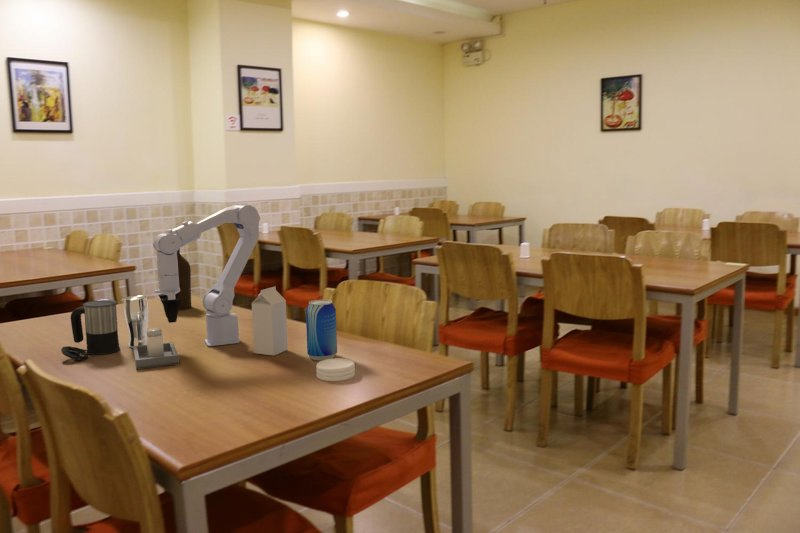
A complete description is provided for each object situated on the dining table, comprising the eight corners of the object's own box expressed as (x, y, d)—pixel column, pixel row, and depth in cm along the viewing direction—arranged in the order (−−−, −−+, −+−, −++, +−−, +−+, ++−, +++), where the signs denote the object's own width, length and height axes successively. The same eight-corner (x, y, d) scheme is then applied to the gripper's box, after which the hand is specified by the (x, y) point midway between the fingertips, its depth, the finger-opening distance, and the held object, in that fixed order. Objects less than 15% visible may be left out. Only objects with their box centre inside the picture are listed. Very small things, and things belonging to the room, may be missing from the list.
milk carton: (288, 350, 198) (285, 287, 195) (273, 356, 192) (271, 291, 189) (268, 347, 201) (265, 285, 198) (253, 353, 195) (250, 289, 192)
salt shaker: (163, 354, 193) (162, 327, 192) (164, 358, 189) (162, 330, 188) (147, 356, 191) (145, 329, 190) (147, 360, 187) (145, 332, 186)
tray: (173, 350, 199) (172, 341, 199) (178, 364, 185) (178, 355, 185) (133, 355, 195) (133, 346, 195) (136, 369, 181) (135, 360, 180)
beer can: (324, 362, 184) (323, 306, 182) (301, 358, 189) (299, 303, 187) (343, 355, 192) (341, 300, 189) (320, 351, 196) (318, 298, 194)
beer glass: (142, 348, 202) (139, 300, 200) (122, 347, 203) (118, 299, 201) (155, 342, 209) (152, 295, 206) (135, 342, 210) (132, 295, 208)
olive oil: (187, 303, 269) (184, 242, 265) (196, 308, 260) (192, 244, 257) (161, 307, 263) (156, 244, 259) (169, 311, 254) (164, 246, 251)
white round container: (319, 370, 178) (319, 357, 178) (356, 370, 178) (356, 357, 177) (313, 382, 168) (313, 369, 168) (353, 382, 168) (352, 368, 168)
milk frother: (123, 346, 205) (120, 298, 203) (111, 360, 190) (107, 309, 188) (74, 349, 203) (70, 301, 201) (57, 363, 188) (52, 312, 185)
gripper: (152, 272, 201) (155, 316, 203) (155, 279, 188) (158, 326, 190) (176, 270, 204) (179, 313, 206) (181, 277, 191) (184, 323, 193)
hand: (171, 319), depth 198 cm, fingers open, 7 cm apart
